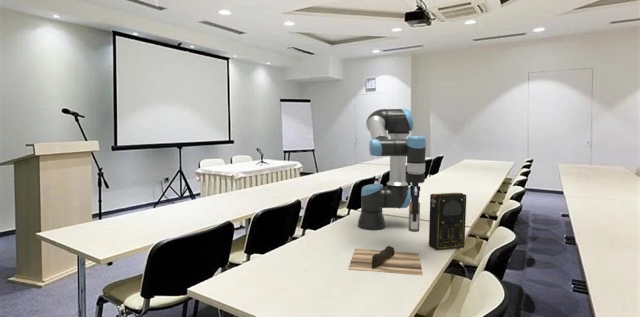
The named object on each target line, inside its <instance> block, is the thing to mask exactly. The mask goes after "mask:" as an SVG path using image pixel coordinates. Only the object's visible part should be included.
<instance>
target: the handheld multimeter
mask: <svg viewBox="0 0 640 317" xmlns="http://www.w3.org/2000/svg"><path fill="white" fill-rule="evenodd" d="M429 196H430V197H429V199H430V200H429V222H428V223H429V225H428V226H429V227H428V229H429V230H428V232H429V233H428V246H430V247H431V248H434V250H435V251H440V250H441V251H442V250H443V251H444V250H450V249H451V250H452V249H463V248H464V247H465V242H466V241H465V240H466V238H465V237H466V218H467V217H466V216H467V194H465V193H463V192H447V193H430V195H429Z"/></svg>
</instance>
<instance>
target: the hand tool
mask: <svg viewBox="0 0 640 317" xmlns="http://www.w3.org/2000/svg"><path fill="white" fill-rule="evenodd" d="M380 251H381V252H380V253H379V254H377V253H376V254H375V255H373V257H372V268H375V267H377V266H380V264H381V262H382V261H384V260H385V259H387V258H388V257H389V256H391V255H392V256H393V255H394V254H395V253H394V252H396V251H395V248H394V246H390V245H387V246H385V248H384V249H382V250H380Z"/></svg>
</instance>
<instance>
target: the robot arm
mask: <svg viewBox="0 0 640 317" xmlns="http://www.w3.org/2000/svg"><path fill="white" fill-rule="evenodd" d="M365 124H366V129H367V130H368V131H369V133H370V137H371V139H370V141H369V144H368V146H369V148H368V149H369V155H370V156H371V157H389V181H387V182H386V186H384V185H383V184H382V183H371V184H367V185H364V186H362V187H361V192H360V193H361V194H360V196H361V198H360V200H361V204H360V206H361V207H360V215H359V218H358V220H357V227H358V228H360V229H361V230H370V231H374V230H375V231H378V230H383V229H385V228H386V221H385V218H384V214H383V209H400V210H401V209H407V208H408V207H409V202H412V212H410V214H411V229H418V213H419V212H418V206H419V203H420V201H419V200H420V192H421V186H420V185H419V184H423V183H425V181H426V180H425V178H426V177H425V176H426V174H425V172H426V151H427V148H426V147H427V139H426V137H425V136H424V135H410V132H411V131H413V129H414V119H413V114H412V112H411V111H410V110H409V109H407V108H380V109H377V110H375V111H373V112H371V113H370V114H369V115H368V117H367V119H366V123H365ZM409 184H411V185H409Z"/></svg>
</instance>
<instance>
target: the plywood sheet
mask: <svg viewBox="0 0 640 317" xmlns="http://www.w3.org/2000/svg"><path fill="white" fill-rule="evenodd" d="M381 251H382V250H380V249H379V250H377V249H376V250H375V249H364V248H363V249H362V248H354V250H353V252H352V256H351V259H350V263H349V264H348V268H347V269H348V270H350V271H352V270H353V271H363V272H375V273H388V274H399V275H411V276H413V275H414V276H424V273H423V269H422V264H421V257H420V254H419V253H418V252H407V251H395V252H394V253H395V254H394V255H393V256H392V255H391V256H389V257H388V258H387V259H385V260H384V261H382V262H381V264H380V266H377V267H375V268H372V257H373V255H375V254H376V253H377V254H379V253H380V252H381Z"/></svg>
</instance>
